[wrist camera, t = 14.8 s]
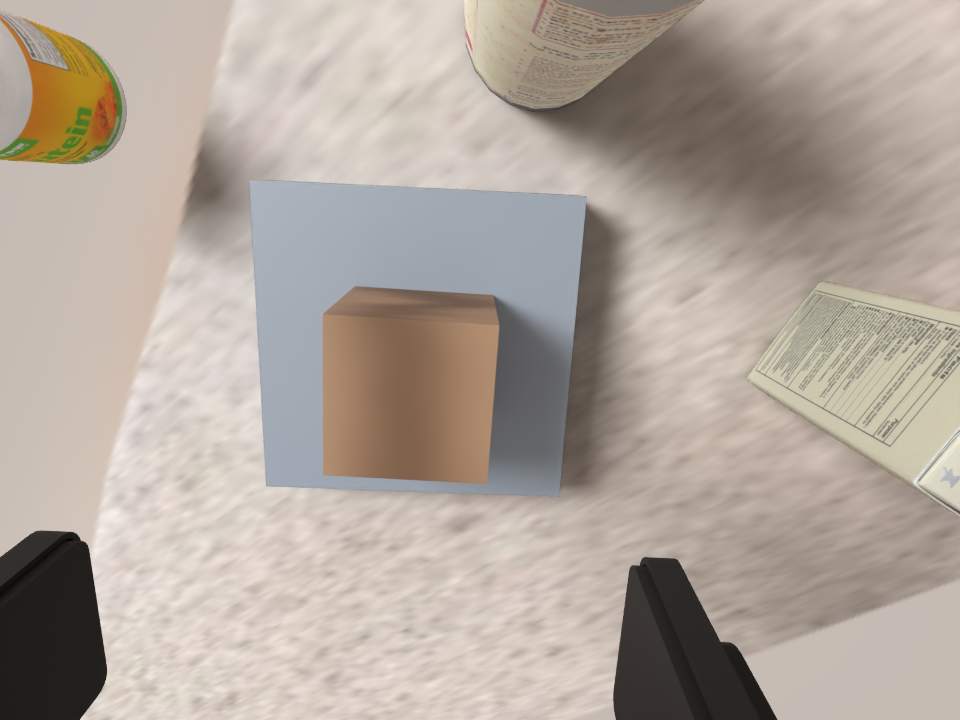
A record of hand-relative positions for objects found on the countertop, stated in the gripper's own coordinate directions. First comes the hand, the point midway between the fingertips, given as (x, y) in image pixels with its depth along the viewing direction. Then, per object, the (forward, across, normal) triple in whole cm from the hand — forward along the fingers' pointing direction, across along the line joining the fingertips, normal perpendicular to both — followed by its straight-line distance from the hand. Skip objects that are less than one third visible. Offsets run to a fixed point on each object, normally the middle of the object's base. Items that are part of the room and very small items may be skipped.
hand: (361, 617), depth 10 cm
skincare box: (+22, -19, 0) cm, 29 cm away
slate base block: (+21, +1, 0) cm, 21 cm away
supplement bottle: (+21, +17, -10) cm, 29 cm away
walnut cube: (+17, +1, 0) cm, 17 cm away
